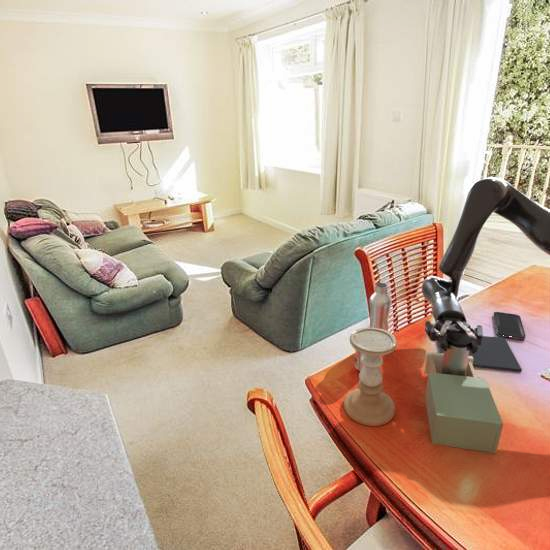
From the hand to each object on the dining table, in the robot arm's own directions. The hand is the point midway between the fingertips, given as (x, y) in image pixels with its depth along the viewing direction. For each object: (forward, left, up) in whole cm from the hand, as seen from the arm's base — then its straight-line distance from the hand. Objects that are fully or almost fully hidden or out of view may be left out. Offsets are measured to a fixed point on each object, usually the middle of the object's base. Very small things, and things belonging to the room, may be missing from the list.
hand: (459, 349), depth 88 cm
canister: (0, -3, -11) cm, 11 cm away
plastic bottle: (+18, -23, -15) cm, 33 cm away
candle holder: (+20, +7, -15) cm, 26 cm away
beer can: (+22, -9, -15) cm, 28 cm away
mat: (-10, -23, -15) cm, 29 cm away
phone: (-23, -39, -15) cm, 48 cm away
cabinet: (0, +8, -15) cm, 17 cm away
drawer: (0, -3, -14) cm, 14 cm away
